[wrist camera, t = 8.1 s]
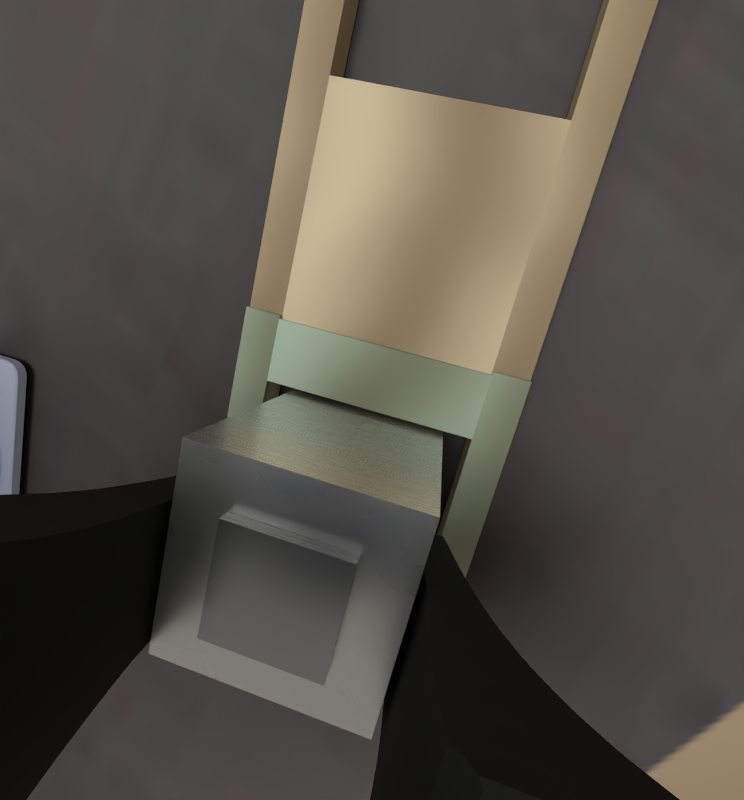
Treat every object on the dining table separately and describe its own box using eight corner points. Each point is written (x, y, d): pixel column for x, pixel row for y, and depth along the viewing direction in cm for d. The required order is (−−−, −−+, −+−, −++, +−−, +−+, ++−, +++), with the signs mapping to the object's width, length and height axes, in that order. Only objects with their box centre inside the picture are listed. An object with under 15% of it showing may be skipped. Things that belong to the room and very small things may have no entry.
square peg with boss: (273, 516, 14) (137, 666, 8) (301, 386, 13) (171, 441, 7) (404, 559, 13) (367, 756, 7) (443, 427, 12) (439, 526, 6)
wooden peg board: (213, 581, 15) (194, 602, 14) (375, -286, 10) (365, -367, 9) (429, 658, 14) (428, 688, 13) (734, -259, 9) (777, -346, 8)
